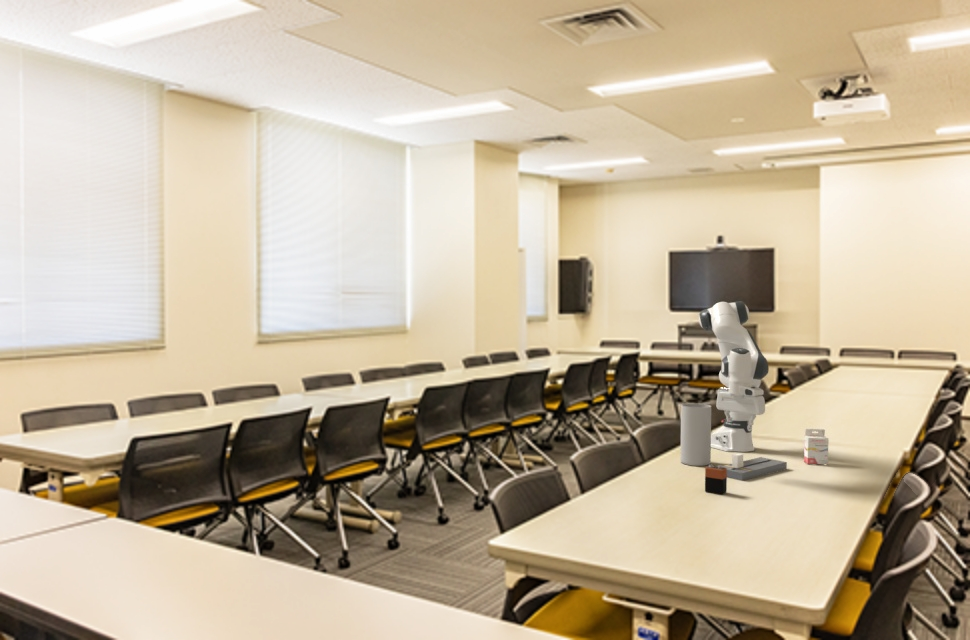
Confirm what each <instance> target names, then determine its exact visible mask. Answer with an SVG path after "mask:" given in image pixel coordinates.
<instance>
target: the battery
mask: <svg viewBox="0 0 970 640" xmlns="http://www.w3.org/2000/svg"><path fill="white" fill-rule="evenodd" d="M723 467H724V465H721V464H720V465H717V466H714V464H709V465H707V466H705V467H704V468H705V469H704V471H705V472H704V480H705V481H704V492H706V493H709V494H716V495H724V494H726V493H727V486H728V485H727V483H728V480H727V479H728V477H727V468H723Z"/></svg>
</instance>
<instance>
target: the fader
mask: <svg viewBox="0 0 970 640" xmlns="http://www.w3.org/2000/svg"><path fill="white" fill-rule="evenodd" d="M731 457H732V459H731V464H732V467H734V468H735V469H739V468H740V467H743V461H744V454H743V453H740V452H739V453H733V454H732V456H731Z"/></svg>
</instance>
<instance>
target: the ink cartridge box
mask: <svg viewBox="0 0 970 640" xmlns="http://www.w3.org/2000/svg"><path fill="white" fill-rule="evenodd" d="M804 432H805V434H804V448H803V449H804V453H803V455H804V457H803V462H804V463H805V462H806V463H807V464H806V463H805V464H806V465H810V464H828V465H829V441H830V440H829V437H827V436H825V434H826V433H825V432H826V431H825V429H822V428H806V429H805V431H804Z"/></svg>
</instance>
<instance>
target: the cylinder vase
mask: <svg viewBox="0 0 970 640" xmlns="http://www.w3.org/2000/svg"><path fill="white" fill-rule="evenodd" d="M680 405H681V406H680V463H682V464H684V465H687V466H691V467H692V466H693V467H694V466H695V467H704V466H705V467H707V466H709V465H711V463H712V462H711V461H712V460H711V458H712V457H711V455H712V453H711V449H712V447H711V435H712V405H710V404H706V403H689V402H688V403H682V404H680Z"/></svg>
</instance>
